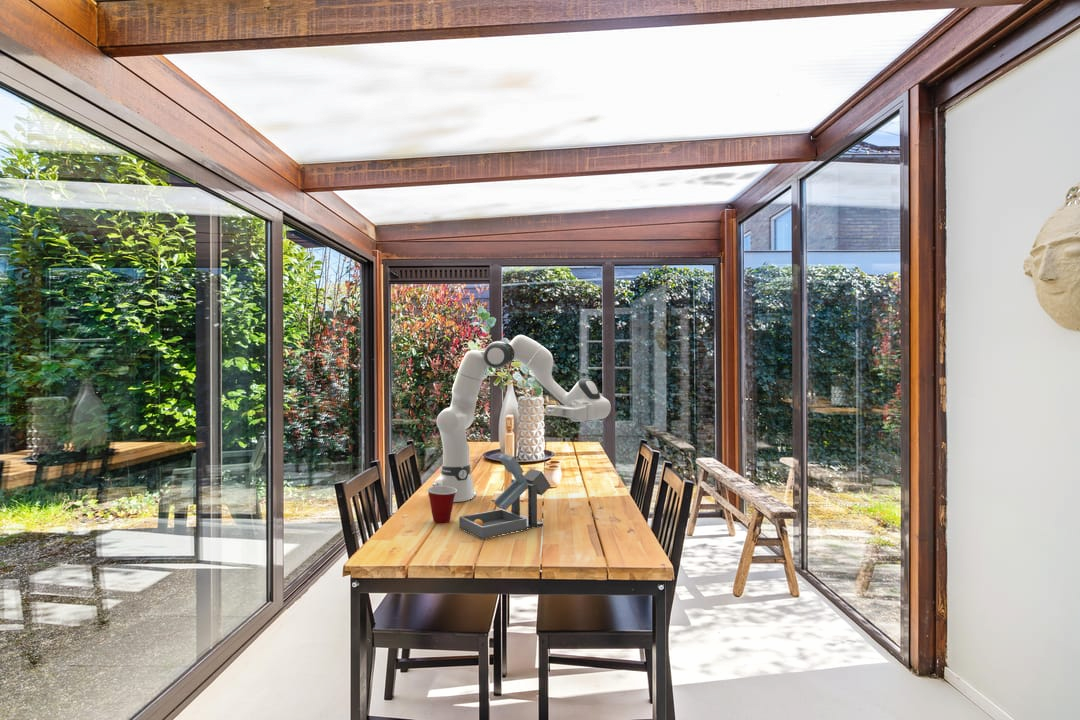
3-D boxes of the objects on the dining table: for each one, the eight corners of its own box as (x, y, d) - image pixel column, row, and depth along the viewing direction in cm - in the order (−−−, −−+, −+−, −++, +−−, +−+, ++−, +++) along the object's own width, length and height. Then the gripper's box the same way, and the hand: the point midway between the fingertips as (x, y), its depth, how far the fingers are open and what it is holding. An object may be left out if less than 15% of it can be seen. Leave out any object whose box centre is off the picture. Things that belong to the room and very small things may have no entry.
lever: (503, 518, 211) (475, 477, 205) (538, 482, 220) (513, 442, 214) (516, 523, 205) (487, 482, 198) (552, 486, 213) (526, 445, 207)
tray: (459, 528, 206) (459, 516, 205) (502, 519, 216) (502, 508, 216) (482, 539, 192) (482, 527, 192) (526, 530, 203) (526, 518, 203)
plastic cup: (451, 526, 207) (451, 492, 207) (422, 524, 210) (422, 491, 209) (461, 518, 218) (461, 485, 218) (433, 516, 220) (433, 484, 220)
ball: (472, 517, 201) (480, 518, 203) (469, 528, 201) (478, 529, 203) (477, 519, 198) (486, 521, 200) (474, 530, 198) (483, 531, 200)
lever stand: (505, 520, 215) (505, 479, 215) (521, 517, 219) (521, 477, 219) (526, 529, 204) (526, 486, 204) (543, 525, 208) (543, 484, 208)
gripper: (561, 401, 245) (534, 402, 237) (593, 404, 229) (565, 406, 221) (561, 416, 246) (534, 418, 238) (593, 420, 229) (565, 423, 221)
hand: (549, 412), depth 229 cm, fingers closed
